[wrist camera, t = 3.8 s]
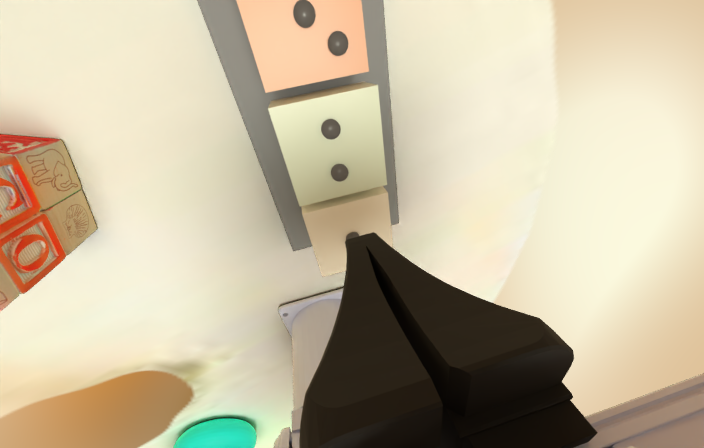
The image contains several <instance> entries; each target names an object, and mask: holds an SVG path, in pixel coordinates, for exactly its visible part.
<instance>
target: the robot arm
mask: <svg viewBox="0 0 704 448" xmlns="http://www.w3.org/2000/svg"><path fill="white" fill-rule="evenodd" d="M345 245H346V251H347V263H346V275H345V282H344V288H342V289H338V290H335V291H331V292H328V293H324V294H321V295H317V296H314V297H310V298H307V299H303V300H300V301H296V302H293V303H289V304H286V305H282V306H280V307H279V309H278V312H279V315H280V316H281V318H282V320H283V322H284V324H285V326H286V328H287V330H288V332H289V334H290V336H291V338H292V358H293V404H294V410H293V411H292V432H291V431H290V427H289V428H284V429H282V431H281V434H280V435H279V436H278V438H277V439H276V441H275V443H274V448H704V373H703V374H700V375H698V376H695V377H692V378H690V379H687V380H684V381H681V382H679V383H676V384H673V385H671V386H668V387H665V388H662V389H660V390H657V391H654V392H652V393H649V394H646V395H643V396H641V397H638V398H635V399H633V400H630V401H627V402H624V403H622V404H619V405H616V406H614V407H611V408H608V409H605V410H603V411H600V412H598V413H595V414H592V415H589V416H587V417H584V416H583V415H582V414H581V413H580V411H579V410H578V409H577V408H576V407H575V405H574V404H573V403H572V402H571V401H570V399H572V398H573V396H572V394H571V392H570V391H569V390H568V389H567V388H566V386H565V385H564V384H563V383H562V380H563V378H564V377H565V375H566V373H567V371H568V370H569V368H570V367H571V364H572V362H573V359H574V355H573V350H572V349H571V348H570V347H569V346H568V345H567V344H566V343H565V342H564V341H563V340H562V339H561V338H560V337H559V336H558V335H557V334H556V333H555V332H554V331H553V330H552V329H551V328H550V327H549V326H548V325H546V324H545V323H544V322H543V321H542V320H541V319H540V318H537V317H534V316H530V315H527V314H524V313H521V312H518V311H514V310H511V309H508V308H505V307H501V306H499V305H496V304H494V303H491V302H488V301H486V300H483V299H480V298H478V297H475V296H473V295H471V294H469V293H466V292H464V291H462V290H460V289H457V288H455V287H453V286H451V285H449V284H447V283H445V282H443V281H441V280H439V279H438V278H436V277H434V276H432V275H431V274H429V273H427V272H426V271H424V270H422V269H421V268H419V267H418V266H416V265H415V264H413V263H412V262H410V261H409V260H408V259H406V258H405V257H404V256H402V255H401V254H400V253H398V252H397V251H396V250H394V249H393V248H392V247H391V246H390V245H388V244H387V243H386V242H385V241H384V240H383V239H381V238H380V237H379V236H378V235H377V234H376V233H374V232H372V233H369V234H365V235H361V236H358V237H354V238H350V239H347V240H346V241H345Z"/></svg>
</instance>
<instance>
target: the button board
mask: <svg viewBox="0 0 704 448" xmlns="http://www.w3.org/2000/svg"><path fill="white" fill-rule="evenodd" d="M197 1H198V4H199V6H200V9H201V11H202V14H203V17H204V19H205V22H206V25H207V27H208V30H209V32H210V35H211V38H212V40H213V43H214V45H215V48H216V51H217V53H218V56H219V58H220V61H221V64H222V66H223V69H224V71H225V74H226V77H227V79H228V82H229V84H230V87H231V90H232V92H233V95H234V98H235V100H236V103H237V105H238V108H239V111H240V113H241V116H242V118H243V121H244V124H245V126H246V129H247V131H248V134H249V137H250V139H251V142H252V144H253V147H254V150H255V152H256V155H257V157H258V160H259V163H260V165H261V168H262V171H263V173H264V176H265V178H266V181H267V184H268V186H269V189H270V191H271V194H272V197H273V199H274V202H275V204H276V207H277V210H278V212H279V215H280V217H281V220H282V223H283V225H284V228H285V231H286V233H287V236H288V238H289V241H290V244H291V246H292V249H293V251H296V250H300V249H304V248H307V247H311V246H312V243H311V240H310V237H309V234H308V231H307V228H306V225H305V222H304V219H303V215H302V208H301V206H299V203H298V200H297V197H296V194H295V191H294V188H293V185H292V182H291V178H290V175H289V172H288V169H287V166H286V163H285V160H284V157H283V154H282V151H281V148H280V144H279V141H278V138H277V135H276V132H275V129H274V126H273V123H272V120H271V117H270V114H269V110H268V107H269V104H270V102H271V101H274V100H279V99H283V98H288V97H293V96H298V95H303V94H307V93H312V92H317V91H322V90H326V89H331V88H336V87H341V86H345V85H350V84H355V83H360V82H368V83H372V84H376V85H378V91H379V102H380V113H381V124H382V134H383V145H384V156H385V166H386V177H387V185H384V186H383V187H384V188H385V189H386V191H387V192H388V199H389V209H390V220H391V225H394V224H398V223H399V215H398V201H397V187H396V173H395V159H394V144H393V130H392V116H391V102H390V88H389V74H388V60H387V46H386V32H385V18H384V3H383V0H361V2H362V11H363V20H364V29H365V39H366V48H367V57H368V67H369V72H364V73H359V74H354V75H350V76H345V77H340V78H335V79H330V80H325V81H321V82H316V83H311V84H306V85H301V86H296V87H292V88H287V89H282V90H277V91H272V92H268V93H266V92H265V89H264V86H263V83H262V80H261V76H260V73H259V70H258V67H257V64H256V61H255V58H254V54H253V51H252V48H251V45H250V42H249V39H248V36H247V32H246V29H245V26H244V23H243V20H242V17H241V13H240V10H239V7H238V4H237V1H236V0H197Z"/></svg>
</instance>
